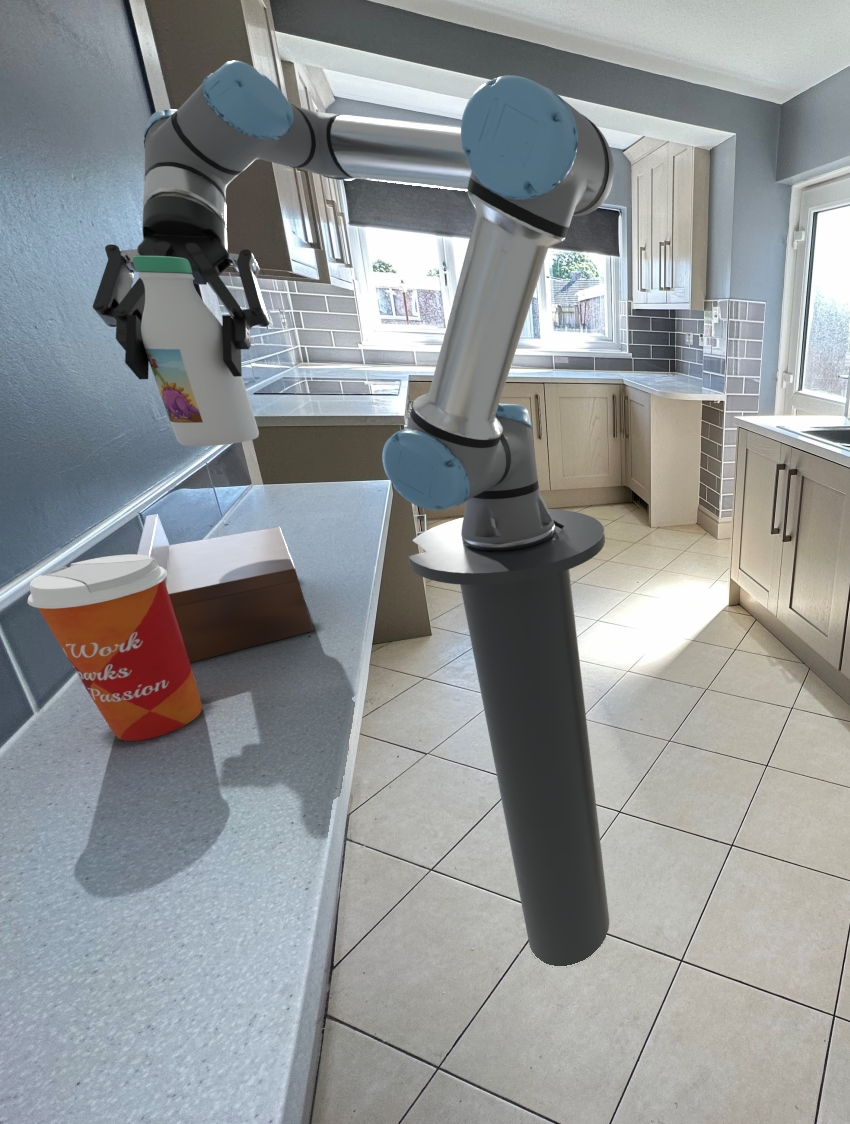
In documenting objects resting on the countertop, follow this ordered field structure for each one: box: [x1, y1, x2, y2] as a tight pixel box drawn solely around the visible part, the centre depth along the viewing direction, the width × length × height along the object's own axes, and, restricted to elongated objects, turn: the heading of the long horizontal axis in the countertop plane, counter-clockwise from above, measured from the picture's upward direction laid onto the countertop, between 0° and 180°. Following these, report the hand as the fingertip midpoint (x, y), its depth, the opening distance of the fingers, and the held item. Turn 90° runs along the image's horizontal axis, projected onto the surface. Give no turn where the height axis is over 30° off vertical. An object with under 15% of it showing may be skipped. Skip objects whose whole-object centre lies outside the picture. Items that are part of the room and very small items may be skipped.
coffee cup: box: [27, 554, 203, 742], centre depth 53 cm, size 8×8×15 cm
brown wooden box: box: [137, 513, 315, 664], centre depth 72 cm, size 12×18×12 cm, turn 40°
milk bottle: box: [133, 256, 260, 447], centre depth 70 cm, size 8×8×20 cm
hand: (186, 369), depth 67 cm, fingers closed on milk bottle, 8 cm apart
